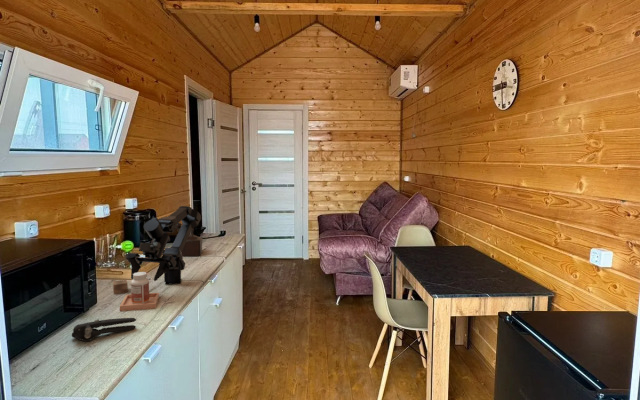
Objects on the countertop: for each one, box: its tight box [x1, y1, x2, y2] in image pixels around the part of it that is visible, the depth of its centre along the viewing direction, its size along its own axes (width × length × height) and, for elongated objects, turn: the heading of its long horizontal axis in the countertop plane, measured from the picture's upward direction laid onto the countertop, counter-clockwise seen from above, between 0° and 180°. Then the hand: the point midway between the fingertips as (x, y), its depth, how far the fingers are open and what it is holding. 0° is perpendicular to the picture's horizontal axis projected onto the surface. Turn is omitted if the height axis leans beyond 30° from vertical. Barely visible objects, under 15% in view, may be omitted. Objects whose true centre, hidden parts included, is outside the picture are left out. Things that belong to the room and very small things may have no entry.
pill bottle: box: [130, 271, 150, 304], centre depth 144 cm, size 6×6×11 cm
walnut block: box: [112, 279, 129, 295], centre depth 157 cm, size 5×5×4 cm
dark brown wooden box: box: [176, 222, 203, 258], centre depth 219 cm, size 16×11×18 cm
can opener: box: [71, 317, 137, 342], centre depth 119 cm, size 18×7×6 cm, turn 127°
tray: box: [119, 292, 160, 312], centre depth 145 cm, size 12×12×2 cm
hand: (143, 279), depth 146 cm, fingers open, 9 cm apart
